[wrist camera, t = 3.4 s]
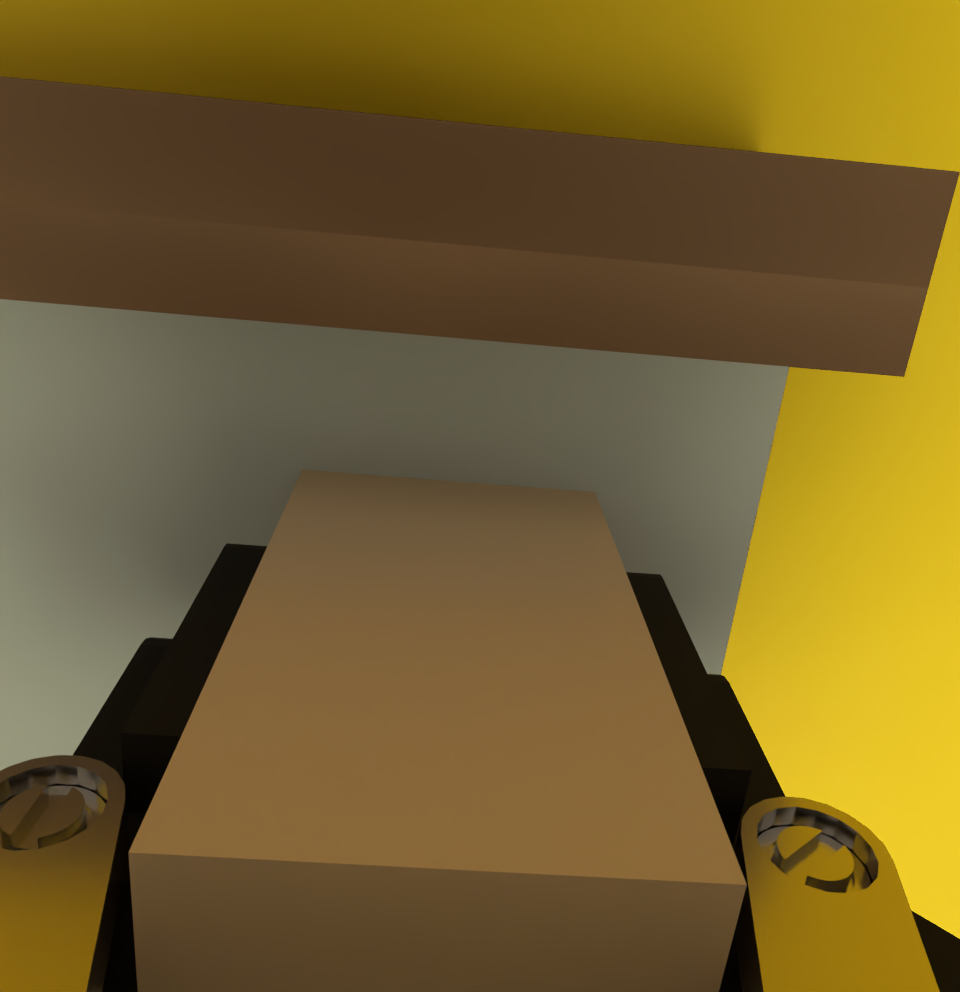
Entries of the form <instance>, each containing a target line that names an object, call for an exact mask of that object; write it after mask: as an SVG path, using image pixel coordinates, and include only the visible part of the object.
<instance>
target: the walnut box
mask: <svg viewBox="0 0 960 992" xmlns="http://www.w3.org/2000/svg"><path fill="white" fill-rule="evenodd" d="M958 176H959V172H955V171H945V170H935V169H925V168H915V167H905V166H895V165H884V164H874V163H864V162H854V161H844V160H834V159H824V158H814V157H804V156H794V155H784V154H774V153H764V152H754V151H744V150H734V149H724V148H714V147H704V146H694V145H684V144H674V143H664V142H653V141H643V140H633V139H623V138H613V137H603V136H593V135H583V134H573V133H563V132H553V131H543V130H533V129H523V128H513V127H503V126H493V125H483V124H473V123H463V122H453V121H443V120H433V119H422V118H412V117H402V116H392V115H382V114H372V113H362V112H352V111H342V110H332V109H322V108H312V107H302V106H292V105H282V104H272V103H262V102H252V101H242V100H232V99H222V98H212V97H202V96H191V95H181V94H171V93H161V92H151V91H141V90H131V89H121V88H111V87H101V86H91V85H81V84H71V83H61V82H51V81H41V80H31V79H21V78H11V77H1V76H0V299H6V300H18V301H30V302H41V303H53V304H64V305H76V306H88V307H99V308H111V309H123V310H134V311H146V312H158V313H169V314H181V315H193V316H204V317H216V318H227V319H239V320H251V321H262V322H274V323H286V324H297V325H309V326H321V327H332V328H344V329H356V330H367V331H379V332H390V333H402V334H414V335H425V336H437V337H449V338H460V339H472V340H484V341H495V342H507V343H519V344H530V345H542V346H553V347H565V348H577V349H588V350H600V351H612V352H623V353H635V354H647V355H658V356H670V357H682V358H693V359H705V360H717V361H728V362H740V363H751V364H763V365H775V366H786V367H798V368H810V369H821V370H833V371H845V372H856V373H868V374H880V375H891V376H903V377H904V375H905V371H906V367H907V364H908V360H909V356H910V353H911V349H912V345H913V342H914V338H915V334H916V330H917V327H918V323H919V319H920V316H921V312H922V308H923V305H924V301H925V297H926V294H927V290H928V286H929V283H930V279H931V275H932V272H933V268H934V264H935V261H936V257H937V253H938V250H939V246H940V242H941V239H942V235H943V231H944V228H945V224H946V220H947V217H948V213H949V209H950V205H951V202H952V198H953V194H954V191H955V187H956V183H957V180H958Z"/></svg>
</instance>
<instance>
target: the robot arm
mask: <svg viewBox="0 0 960 992" xmlns="http://www.w3.org/2000/svg"><path fill="white" fill-rule="evenodd" d="M266 548H267V546H257V545H243V544H229V543H227V544H226V545H225V546H224V548H223V549H222V551H221V553H220V555H219V557H218V558H217V560H216V562H215V564H214V566H213V567H212V569H211V571H210V573H209V575H208V576H207V578H206V580H205V582H204V583H203V585H202V587H201V589H200V591H199V592H198V594H197V596H196V598H195V600H194V601H193V603H192V605H191V607H190V609H189V610H188V612H187V614H186V616H185V618H184V619H183V621H182V623H181V625H180V627H179V628H178V630H177V632H176V634H175V636H174V637H173V639H170V638H155V637H150V638H146V639H145V640H144V641H143V642H142V643H141V645H140V646H139V648H138V649H137V651H136V653H135V654H134V656H133V658H132V659H131V661H130V662H129V664H128V666H127V667H126V669H125V671H124V672H123V674H122V676H121V677H120V679H119V680H118V682H117V684H116V685H115V687H114V689H113V690H112V692H111V693H110V695H109V697H108V698H107V700H106V702H105V703H104V705H103V706H102V708H101V710H100V711H99V713H98V715H97V716H96V718H95V719H94V721H93V723H92V724H91V726H90V728H89V729H88V731H87V733H86V734H85V736H84V737H83V739H82V741H81V742H80V744H79V746H78V747H77V749H76V750H75V752H74V754H73V755H55V756H48V757H41V758H34V759H30V760H27V761H24V762H21V763H18V764H15V765H12V766H9V767H7V768H5V769H3V770H1V771H0V992H138V988H137V973H136V958H135V943H134V928H133V913H132V898H131V883H130V869H129V854H128V852H129V850H130V848H131V846H132V844H133V841H134V839H135V837H136V835H137V833H138V830H139V828H140V826H141V824H142V822H143V819H144V817H145V815H146V813H147V811H148V808H149V806H150V804H151V802H152V800H153V797H154V795H155V793H156V791H157V789H158V786H159V784H160V782H161V780H162V777H163V775H164V773H165V771H166V769H167V766H168V764H169V762H170V760H171V758H172V755H173V753H174V751H175V749H176V747H177V744H178V742H179V740H180V738H181V736H182V733H183V731H184V729H185V727H186V725H187V722H188V720H189V718H190V716H191V714H192V711H193V709H194V707H195V705H196V703H197V700H198V698H199V696H200V694H201V692H202V689H203V687H204V685H205V683H206V681H207V678H208V676H209V674H210V672H211V670H212V667H213V665H214V663H215V661H216V659H217V656H218V654H219V652H220V650H221V647H222V645H223V643H224V641H225V639H226V636H227V634H228V632H229V630H230V628H231V625H232V623H233V621H234V619H235V617H236V614H237V612H238V610H239V608H240V606H241V603H242V601H243V599H244V597H245V595H246V592H247V590H248V588H249V586H250V584H251V581H252V579H253V577H254V575H255V573H256V570H257V568H258V566H259V564H260V562H261V559H262V557H263V555H264V553H265V551H266ZM626 573H627V576H628V579H629V581H630V584H631V586H632V589H633V592H634V594H635V597H636V599H637V602H638V605H639V607H640V610H641V612H642V615H643V618H644V620H645V623H646V625H647V628H648V630H649V633H650V636H651V638H652V641H653V643H654V646H655V649H656V651H657V654H658V656H659V659H660V662H661V664H662V667H663V669H664V672H665V674H666V677H667V680H668V682H669V685H670V687H671V690H672V693H673V695H674V698H675V700H676V703H677V706H678V708H679V711H680V713H681V716H682V718H683V721H684V724H685V726H686V729H687V731H688V734H689V737H690V739H691V742H692V744H693V747H694V750H695V752H696V755H697V757H698V760H699V763H700V765H701V768H702V770H703V773H704V775H705V778H706V781H707V783H708V786H709V788H710V791H711V794H712V796H713V799H714V801H715V804H716V807H717V809H718V812H719V814H720V817H721V819H722V822H723V825H724V827H725V830H726V832H727V835H728V838H729V840H730V843H731V845H732V848H733V851H734V853H735V856H736V858H737V861H738V863H739V866H740V869H741V871H742V874H743V876H744V879H745V882H746V884H747V886H746V890H745V893H744V897H743V901H742V905H741V909H740V913H739V916H738V920H737V924H736V928H735V932H734V935H733V939H732V943H731V947H730V951H729V955H728V958H727V962H726V966H725V970H724V974H723V977H722V981H721V985H720V989H719V992H960V939H959V938H957V937H955V936H954V935H952V934H950V933H948V932H947V931H945V930H943V929H942V928H940V927H938V926H937V925H935V924H933V923H932V922H930V921H928V920H926V919H925V918H923V917H921V916H920V915H918V914H916V913H915V912H913V911H911V909H910V906H909V903H908V900H907V898H906V895H905V892H904V889H903V886H902V883H901V881H900V878H899V875H898V872H897V869H896V866H895V864H894V861H893V859H892V858H891V856H890V854H889V852H888V850H887V849H886V847H885V845H884V844H883V843H882V842H881V841H880V840H879V839H878V838H877V837H876V836H875V835H874V834H873V832H872V831H871V830H870V829H869V828H867V827H866V826H864V825H863V824H861V823H860V822H859V821H857V820H856V819H854V818H853V817H851V816H850V815H848V814H846V813H844V812H842V811H840V810H838V809H835V808H833V807H831V806H829V805H827V804H823V803H820V802H816V801H812V800H809V799H805V798H795V797H785V795H784V793H783V791H782V789H781V787H780V785H779V783H778V781H777V779H776V777H775V775H774V773H773V771H772V769H771V767H770V765H769V763H768V761H767V759H766V757H765V755H764V753H763V750H762V748H761V746H760V744H759V742H758V740H757V738H756V736H755V734H754V732H753V730H752V728H751V726H750V724H749V722H748V720H747V718H746V716H745V714H744V712H743V710H742V708H741V706H740V704H739V702H738V700H737V698H736V696H735V694H734V692H733V690H732V688H731V686H730V684H729V682H728V681H727V679H726V678H725V677H724V676H722V675H719V674H707V672H706V670H705V668H704V666H703V663H702V661H701V659H700V657H699V655H698V653H697V650H696V648H695V646H694V644H693V642H692V640H691V637H690V635H689V633H688V631H687V629H686V627H685V624H684V622H683V620H682V618H681V616H680V614H679V612H678V609H677V607H676V605H675V603H674V601H673V599H672V596H671V594H670V592H669V590H668V588H667V586H666V583H665V581H664V579H663V577H662V576H661V575H660V574H647V573H633V572H626Z"/></svg>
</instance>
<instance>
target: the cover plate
mask: <svg viewBox="0 0 960 992" xmlns="http://www.w3.org/2000/svg"><path fill="white" fill-rule="evenodd" d="M788 370H789V367H786V366H775V365H763V364H751V363H740V362H728V361H717V360H705V359H693V358H682V357H670V356H658V355H647V354H635V353H623V352H612V351H600V350H588V349H577V348H565V347H553V346H542V345H530V344H519V343H507V342H495V341H484V340H472V339H460V338H449V337H437V336H425V335H414V334H402V333H390V332H379V331H367V330H356V329H344V328H332V327H321V326H309V325H297V324H286V323H274V322H262V321H251V320H239V319H227V318H216V317H204V316H193V315H181V314H169V313H158V312H146V311H134V310H123V309H111V308H99V307H88V306H76V305H64V304H53V303H41V302H30V301H18V300H6V299H0V771H1V770H3V769H5V768H7V767H9V766H12V765H15V764H18V763H21V762H24V761H27V760H30V759H34V758H41V757H48V756H55V755H73V754H74V752H75V750H76V749H77V747H78V746H79V744H80V742H81V741H82V739H83V737H84V736H85V734H86V733H87V731H88V729H89V728H90V726H91V724H92V723H93V721H94V719H95V718H96V716H97V715H98V713H99V711H100V710H101V708H102V706H103V705H104V703H105V702H106V700H107V698H108V697H109V695H110V693H111V692H112V690H113V689H114V687H115V685H116V684H117V682H118V680H119V679H120V677H121V676H122V674H123V672H124V671H125V669H126V667H127V666H128V664H129V662H130V661H131V659H132V658H133V656H134V654H135V653H136V651H137V649H138V648H139V646H140V645H141V643H142V642H143V641H144V640H145V639H146V638H150V637H155V638H170V639H173V637H174V636H175V634H176V632H177V630H178V628H179V627H180V625H181V623H182V621H183V619H184V618H185V616H186V614H187V612H188V610H189V609H190V607H191V605H192V603H193V601H194V600H195V598H196V596H197V594H198V592H199V591H200V589H201V587H202V585H203V583H204V582H205V580H206V578H207V576H208V575H209V573H210V571H211V569H212V567H213V566H214V564H215V562H216V560H217V558H218V557H219V555H220V553H221V551H222V549H223V548H224V546H225V545H226V544H227V543H229V544H243V545H257V546H267V548H266V551H265V553H264V555H263V557H262V559H261V562H260V564H259V566H258V568H257V570H256V573H255V575H254V577H253V579H252V581H251V584H250V586H249V588H248V590H247V592H246V595H245V597H244V599H243V601H242V603H241V606H240V608H239V610H238V612H237V614H236V617H235V619H234V621H233V623H232V625H231V628H230V630H229V632H228V634H227V636H226V639H225V641H224V643H223V645H222V647H221V650H220V652H219V654H218V656H217V659H216V661H215V663H214V665H213V667H212V670H211V672H210V674H209V676H208V678H207V681H206V683H205V685H204V687H203V689H202V692H201V694H200V696H199V698H198V700H197V703H196V705H195V707H194V709H193V711H192V714H191V716H190V718H189V720H188V722H187V725H186V727H185V729H184V731H183V733H182V736H181V738H180V740H179V742H178V744H177V747H176V749H175V751H174V753H173V755H172V758H171V760H170V762H169V764H168V766H167V769H166V771H165V773H164V775H163V777H162V780H161V782H160V784H159V786H158V789H157V791H156V793H155V795H154V797H153V800H152V802H151V804H150V806H149V808H148V811H147V813H146V815H145V817H144V819H143V822H142V824H141V826H140V828H139V830H138V833H137V835H136V837H135V839H134V841H133V844H132V846H131V848H130V850H129V852H128V854H129V869H130V883H131V898H132V913H133V928H134V943H135V958H136V973H137V988H138V992H719V989H720V985H721V981H722V977H723V974H724V970H725V966H726V962H727V958H728V955H729V951H730V947H731V943H732V939H733V935H734V932H735V928H736V924H737V920H738V916H739V913H740V909H741V905H742V901H743V897H744V893H745V890H746V886H747V884H746V882H745V879H744V876H743V874H742V871H741V869H740V866H739V863H738V861H737V858H736V856H735V853H734V851H733V848H732V845H731V843H730V840H729V838H728V835H727V832H726V830H725V827H724V825H723V822H722V819H721V817H720V814H719V812H718V809H717V807H716V804H715V801H714V799H713V796H712V794H711V791H710V788H709V786H708V783H707V781H706V778H705V775H704V773H703V770H702V768H701V765H700V763H699V760H698V757H697V755H696V752H695V750H694V747H693V744H692V742H691V739H690V737H689V734H688V731H687V729H686V726H685V724H684V721H683V718H682V716H681V713H680V711H679V708H678V706H677V703H676V700H675V698H674V695H673V693H672V690H671V687H670V685H669V682H668V680H667V677H666V674H665V672H664V669H663V667H662V664H661V662H660V659H659V656H658V654H657V651H656V649H655V646H654V643H653V641H652V638H651V636H650V633H649V630H648V628H647V625H646V623H645V620H644V618H643V615H642V612H641V610H640V607H639V605H638V602H637V599H636V597H635V594H634V592H633V589H632V586H631V584H630V581H629V579H628V576H627V573H626V572H633V573H647V574H660V575H661V576H662V577H663V579H664V581H665V583H666V586H667V588H668V590H669V592H670V594H671V596H672V599H673V601H674V603H675V605H676V607H677V609H678V612H679V614H680V616H681V618H682V620H683V622H684V624H685V627H686V629H687V631H688V633H689V635H690V637H691V640H692V642H693V644H694V646H695V648H696V650H697V653H698V655H699V657H700V659H701V661H702V663H703V666H704V668H705V670H706V672H707V674H719V675H721V671H722V666H723V662H724V657H725V653H726V648H727V644H728V639H729V635H730V630H731V626H732V621H733V617H734V613H735V608H736V604H737V599H738V595H739V590H740V586H741V581H742V577H743V572H744V568H745V563H746V559H747V554H748V550H749V545H750V541H751V536H752V532H753V527H754V523H755V518H756V514H757V509H758V505H759V500H760V496H761V491H762V487H763V482H764V478H765V473H766V469H767V464H768V460H769V456H770V451H771V447H772V442H773V438H774V433H775V429H776V424H777V420H778V415H779V411H780V406H781V402H782V397H783V393H784V388H785V384H786V379H787V375H788Z"/></svg>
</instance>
